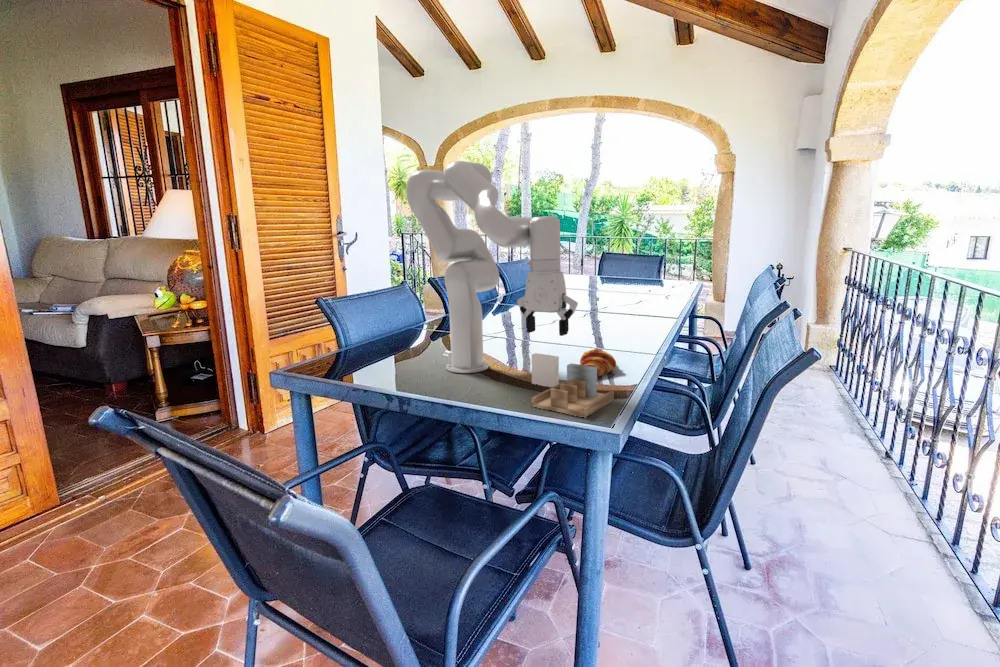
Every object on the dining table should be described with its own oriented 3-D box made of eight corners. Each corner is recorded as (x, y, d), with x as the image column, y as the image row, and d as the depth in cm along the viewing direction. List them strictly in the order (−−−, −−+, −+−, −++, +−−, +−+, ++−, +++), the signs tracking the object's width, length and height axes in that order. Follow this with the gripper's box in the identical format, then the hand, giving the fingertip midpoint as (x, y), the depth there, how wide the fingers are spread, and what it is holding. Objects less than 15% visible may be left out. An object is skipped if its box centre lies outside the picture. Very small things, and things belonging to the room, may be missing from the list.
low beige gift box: (531, 383, 139) (531, 354, 138) (535, 381, 141) (535, 353, 139) (554, 388, 135) (554, 358, 134) (558, 386, 137) (558, 356, 135)
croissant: (597, 371, 162) (585, 348, 162) (626, 359, 157) (615, 335, 158) (577, 390, 143) (564, 363, 143) (610, 376, 138) (597, 349, 139)
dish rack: (530, 406, 122) (530, 373, 120) (562, 389, 134) (562, 359, 132) (585, 418, 114) (585, 383, 112) (613, 399, 125) (614, 367, 124)
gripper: (508, 267, 134) (511, 333, 137) (568, 267, 124) (569, 338, 127) (524, 265, 140) (526, 328, 143) (583, 265, 130) (583, 333, 133)
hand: (547, 333), depth 135 cm, fingers open, 9 cm apart
